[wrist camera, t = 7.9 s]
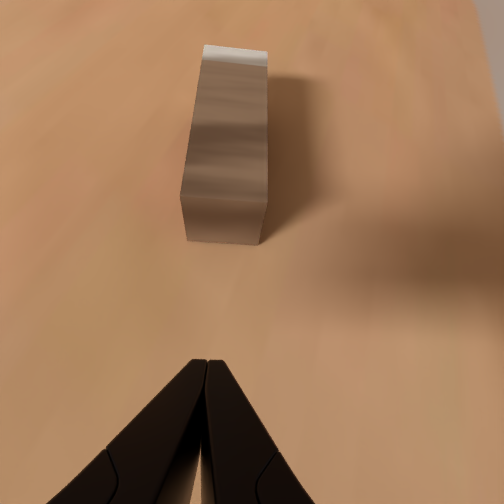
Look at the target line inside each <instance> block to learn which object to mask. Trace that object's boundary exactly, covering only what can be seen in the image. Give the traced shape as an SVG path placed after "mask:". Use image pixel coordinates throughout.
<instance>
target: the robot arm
mask: <svg viewBox="0 0 504 504" xmlns="http://www.w3.org/2000/svg"><path fill="white" fill-rule="evenodd" d="M200 449H201V504H315V503H314V502H313V500H312V499H311V498H310V496H309V495H308V494H307V492H306V491H305V490H304V488H303V487H302V485H301V484H300V482H299V481H298V479H297V478H296V476H295V475H294V473H293V472H292V470H291V469H290V467H289V465H288V464H287V462H286V461H285V459H284V457H283V456H282V454H281V452H279V450H278V448H277V446H276V444H275V443H274V441H273V440H272V438H271V436H270V435H269V433H268V431H267V430H266V428H265V427H264V425H263V423H262V422H261V420H260V418H259V417H258V415H257V414H256V412H255V410H254V409H253V407H252V405H251V404H250V402H249V401H248V399H247V397H246V396H245V394H244V392H243V391H242V389H241V387H240V386H239V384H238V383H237V381H236V379H235V378H234V376H233V374H232V373H231V371H230V370H229V368H228V366H227V365H226V363H225V362H224V361H223V360H209V361H208V362H207V360H205V359H192V360H190V361H189V363H188V364H187V365H186V366H185V367H184V368H183V369H182V370H181V371H180V372H179V373H178V374H177V375H176V376H175V377H174V378H173V379H172V380H171V381H170V382H169V383H168V384H167V385H166V386H165V387H164V388H163V389H162V390H161V391H160V392H159V393H158V394H157V395H156V396H155V397H154V398H153V399H152V400H151V401H150V402H149V403H148V404H147V405H146V406H145V407H144V408H143V409H142V410H141V412H140V413H139V414H138V415H137V416H136V417H135V418H134V419H133V420H132V421H131V422H130V423H129V424H128V425H127V426H126V427H125V428H124V429H123V430H122V431H121V432H120V433H119V434H118V435H117V436H116V437H115V438H114V439H113V440H112V441H111V442H110V443H109V444H108V445H107V446H106V449H103V450H102V451H101V452H100V453H99V454H98V455H97V456H96V457H95V458H94V459H93V460H92V461H91V462H90V463H89V464H88V465H87V466H86V467H85V468H84V469H83V470H82V471H81V472H80V473H79V474H78V475H77V476H76V477H75V478H74V479H73V480H72V481H71V482H70V483H69V484H68V485H67V486H65V487H64V488H63V489H62V490H61V491H60V492H59V493H58V494H57V495H55V496H54V497H53V498H52V499H51V500H50V501H49V502H48V503H46V504H190V499H191V495H192V490H193V485H194V481H195V476H196V471H197V467H198V462H199V456H200Z"/></svg>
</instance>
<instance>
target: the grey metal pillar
mask: <svg viewBox="0 0 504 504" xmlns="http://www.w3.org/2000/svg"><path fill="white" fill-rule="evenodd" d="M180 200H181V206H182V212H183V218H184V224H185V230H186V236H187V241H201V242H216V243H231V244H246V245H258V243H259V239H260V234H261V230H262V226H263V221H264V217H265V213H266V208H267V204H268V109H267V52H266V51H257V50H248V49H239V48H230V47H222V46H213V45H204V50H203V56H202V63H201V69H200V75H199V81H198V87H197V93H196V100H195V106H194V112H193V118H192V124H191V130H190V137H189V143H188V149H187V155H186V161H185V167H184V174H183V180H182V186H181V192H180Z"/></svg>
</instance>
